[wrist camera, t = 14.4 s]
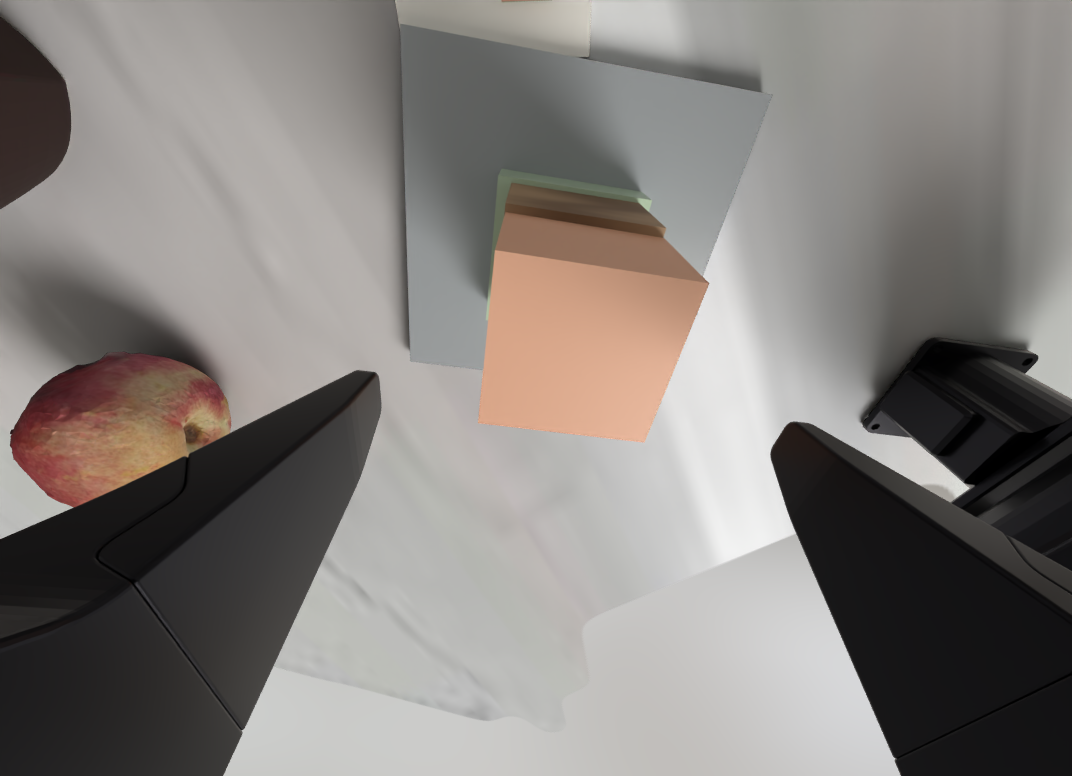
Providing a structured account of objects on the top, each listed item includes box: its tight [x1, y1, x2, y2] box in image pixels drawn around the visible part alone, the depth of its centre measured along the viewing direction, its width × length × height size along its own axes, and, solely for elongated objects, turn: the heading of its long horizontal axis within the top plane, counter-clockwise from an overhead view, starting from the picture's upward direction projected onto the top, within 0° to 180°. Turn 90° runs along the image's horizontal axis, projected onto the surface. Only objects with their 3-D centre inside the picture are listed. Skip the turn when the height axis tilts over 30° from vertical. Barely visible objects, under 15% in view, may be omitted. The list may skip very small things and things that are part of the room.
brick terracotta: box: [478, 212, 709, 442], centre depth 12 cm, size 5×5×4 cm
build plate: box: [400, 24, 772, 370], centre depth 18 cm, size 14×14×3 cm
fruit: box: [10, 352, 231, 507], centre depth 21 cm, size 8×8×8 cm
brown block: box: [504, 183, 666, 238], centre depth 15 cm, size 5×5×4 cm
